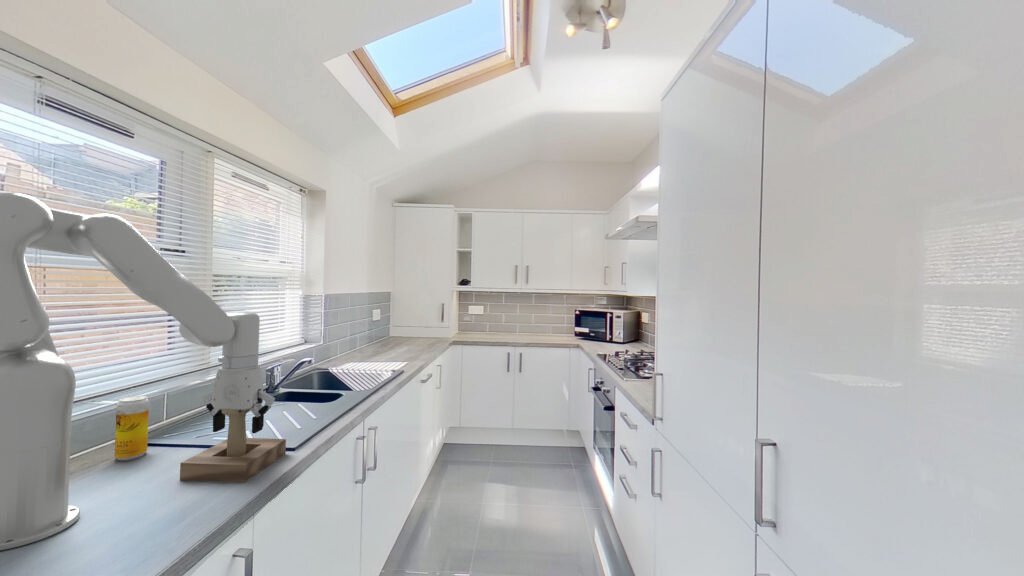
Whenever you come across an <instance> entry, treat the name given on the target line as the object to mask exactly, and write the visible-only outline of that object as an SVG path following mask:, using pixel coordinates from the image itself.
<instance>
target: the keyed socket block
mask: <svg viewBox="0 0 1024 576" xmlns="http://www.w3.org/2000/svg"><path fill="white" fill-rule="evenodd" d="M286 447H287V438H267V437H266V438H264V437H262V438H261V437H246V453H245V455H243V456H241V457H227V439H225V440H223V441H221V442H219V443H217V444H214V445H213V446H211V447H208V448H207V449H205V450H203V451H201V452H199V453H197V454H195V455H193V456H191V457H189V458H187V459H185V460H184V461H181V462H180V463H179V464H180V466H179V467H180V468H179V481H183V482H215V483H221V482H222V483H246V482H247V481H249V480H251V479H252V478H253V477H255V476H256V475H258V474H259V473H261V472H262V471H264V470H265V469H266V468H269V466H270V465H272V464H273V463H275V462H276V461H278V460H279V459H280V458H282V457H283V456H285V455H286V450H287V448H286Z"/></svg>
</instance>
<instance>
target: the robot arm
mask: <svg viewBox="0 0 1024 576" xmlns="http://www.w3.org/2000/svg"><path fill="white" fill-rule="evenodd" d="M27 249H34V250H39V251H40V250H41V251H47V252H55V253H59V254H60V253H61V254H67V255H68V254H69V255H76V256H84V257H93V258H94V259H95V260H96V261H98V263H100V264H101V265H102V266H103V267H104V268H105V269H107V270H108V271H109V272H110V273H111V274H112V275H113V276H114V277H115V278H116V279H117V280H118V281H120V282H121V283H122V284H123V285H124V286H125V287H126V288H128V289H129V291H131V292H132V293H133V294H134V295H136V296H137V297H139V298H140V299H142V300H143V301H145V302H147V303H150V304H152V305H153V306H156V307H158V308H160V309H161V310H162V311H164V312H165V313H166V314H168V315H170V316H171V317H172V318H174V319H175V320H176V321H177V322H178V323H179V328H178V330H179V334H180V336H181V337H182V338H183V339H184V340H186V341H187V342H189V343H192V344H194V345H198V346H199V345H200V346H203V347H209V348H217V347H221V346H222V349H221V350H222V351H221V352H222V353H221V354H222V355H221V356H219V357H218V359H217V362H218V363H221V367H218V368H217V371H216V375H215V379H214V383H213V390H212V392H210V393H209V394H207V395H204V396H203V397H202V400H203V402H204V404H205V406H206V409H207V410H208V411H209V412H210V416H212V432H213V433H217V432H220V431H221V430H224V429H225V428H226V415H224V414H223V413H222V409H232V410H249V409H250V410H251V411H250V412H251V413H252V415H254V416H253V417H252V419H251V433H252V434H257V433H258V432H261V431H262V430H263V427H264V425H265V424H264V422H265V421H264V420H265V414H266V413H267V412H268V411H269V410H270V409H271V408H272V406H273V404H274V402H275V401H276V397H274V396H272V395H270V394H269V393H267V392H266V391H264V381H263V380H264V379H263V373H262V367H261V366H259V356H260V355H259V351H260V350H259V348H260V316H259V315H258V314H257V313H254V312H231V313H227V312H225V311H224V309H222V307H220V305H218V303H216V301H214V300H213V299H212V298H211V297H210V296H209V295H208V294H207V293H205V291H203V290H202V289H201V288H200V287H198V286H197V284H194V283H193V282H192V281H191V280H190V279H189V278H187V277H186V276H185V275H184V274H182V273H181V272H179V270H177V269H176V267H174V266H173V265H172V264H171V263H170V262H169V261H168V260H167V259H166V258H165V257H164V256H163V255H162V254H161V253H160V252H159V251H158V250H157V249H156V248H155V247H154V246H153V245H152V244H151V243H150V242H149V241H148V240H147V238H145V237H144V236H143V235H142V234H141V233H140V232H139V231H138V230H137V229H136V228H135V227H134V226H133V225H132V224H131V223H130V222H128V221H127V220H126V219H124V218H122V217H121V216H118V215H115V214H111V213H97V214H92V215H86V214H80V213H74V212H68V211H63V210H58V209H53V208H50V207H48V206H47V205H46V204H45V203H44V202H42V201H40V200H39V199H37V198H36V197H33V196H31V195H27V194H24V193H19V192H0V551H4V550H9V549H13V548H15V549H16V548H18V547H22V546H26V545H29V544H31V543H35V542H38V541H41V540H44V539H46V538H49V537H51V536H53V535H55V534H58V533H60V532H62V531H64V530H65V529H67V528H69V527H70V526H72V525H73V524H74V523H75V522H77V520H78V519H79V518H80V515H81V510H80V508H79V507H78V506H74V505H71V504H70V505H69V495H70V494H69V493H70V474H71V473H70V472H71V471H70V467H71V466H70V465H71V443H72V442H71V441H72V435H71V432H72V419H73V418H72V416H73V407H74V400H75V395H76V394H75V393H76V385H77V383H76V380H77V379H76V375H75V371H74V369H73V367H72V366H71V365H70V363H68V362H67V361H66V360H65V359H63V358H61V357H60V356H59V353H58V351H57V348H56V346H55V344H54V341H53V339H52V336H51V333H50V331H49V328H50V322H51V321H50V317H49V314H48V313H47V311H46V309H45V308H44V306H43V304H42V302H41V300H40V297H39V295H38V293H37V290H36V288H35V286H34V283H33V281H32V279H31V275H30V274H31V273H30V272H29V268H28V266H27V263H26V251H27ZM263 401H265V403H264V405H263Z"/></svg>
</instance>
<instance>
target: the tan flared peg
mask: <svg viewBox="0 0 1024 576" xmlns="http://www.w3.org/2000/svg"><path fill="white" fill-rule="evenodd" d="M249 412H252V411H251V410H250V409H249V410H232V409H222V413H223V414H224V415H225V416H227V417H228V431H227V439H226V440H227V457H241V456H243V455H245V453H246V438H247V429H246V427H247V425H246V416H247V413H249Z"/></svg>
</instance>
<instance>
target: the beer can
mask: <svg viewBox="0 0 1024 576" xmlns="http://www.w3.org/2000/svg"><path fill="white" fill-rule="evenodd" d="M149 405H150V400H149V399H148V396H146V395H133V396H126V397H122V398H120V399H119V400H118V402H117V403H116V407H115V408H116V410H115V437H114V438H115V440H114V458H116V459H117V461H129V460H134V459H139V458H140V457H143V456H144V455H145V453H147V451H148V437H149V435H148V434H149V409H150V408H149V407H150V406H149Z"/></svg>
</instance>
